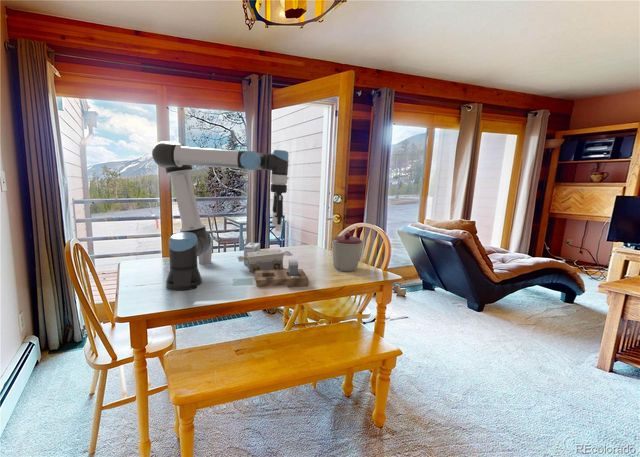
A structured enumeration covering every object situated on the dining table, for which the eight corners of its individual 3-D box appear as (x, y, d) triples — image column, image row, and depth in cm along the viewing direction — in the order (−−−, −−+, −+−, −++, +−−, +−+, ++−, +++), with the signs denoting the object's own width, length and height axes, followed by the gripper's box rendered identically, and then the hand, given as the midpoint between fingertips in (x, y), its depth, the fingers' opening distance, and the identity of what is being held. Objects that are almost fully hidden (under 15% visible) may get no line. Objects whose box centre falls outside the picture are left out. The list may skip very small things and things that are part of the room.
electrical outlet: (294, 270, 175) (293, 252, 173) (240, 277, 166) (239, 259, 164) (288, 264, 186) (288, 247, 184) (237, 270, 177) (236, 252, 174)
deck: (232, 287, 148) (232, 285, 148) (232, 280, 157) (232, 278, 157) (252, 286, 151) (252, 284, 151) (251, 280, 159) (252, 278, 159)
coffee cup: (217, 262, 185) (217, 236, 183) (203, 265, 178) (202, 239, 175) (206, 259, 190) (206, 234, 188) (192, 262, 182) (191, 236, 180)
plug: (289, 282, 157) (290, 262, 156) (288, 279, 161) (288, 260, 159) (297, 281, 158) (298, 262, 157) (296, 279, 162) (296, 259, 160)
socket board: (256, 288, 149) (256, 279, 148) (254, 278, 162) (254, 270, 161) (307, 286, 155) (308, 277, 154) (302, 276, 168) (302, 268, 167)
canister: (325, 271, 178) (327, 233, 174) (333, 262, 195) (335, 228, 192) (358, 275, 174) (361, 237, 170) (363, 266, 191) (365, 231, 187)
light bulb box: (249, 259, 193) (249, 242, 191) (260, 260, 193) (260, 242, 191) (243, 265, 183) (243, 246, 181) (255, 265, 182) (255, 247, 180)
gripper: (291, 186, 142) (288, 234, 145) (283, 182, 165) (280, 223, 169) (273, 185, 140) (271, 233, 144) (268, 181, 163) (266, 223, 167)
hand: (276, 228), depth 156 cm, fingers open, 13 cm apart
